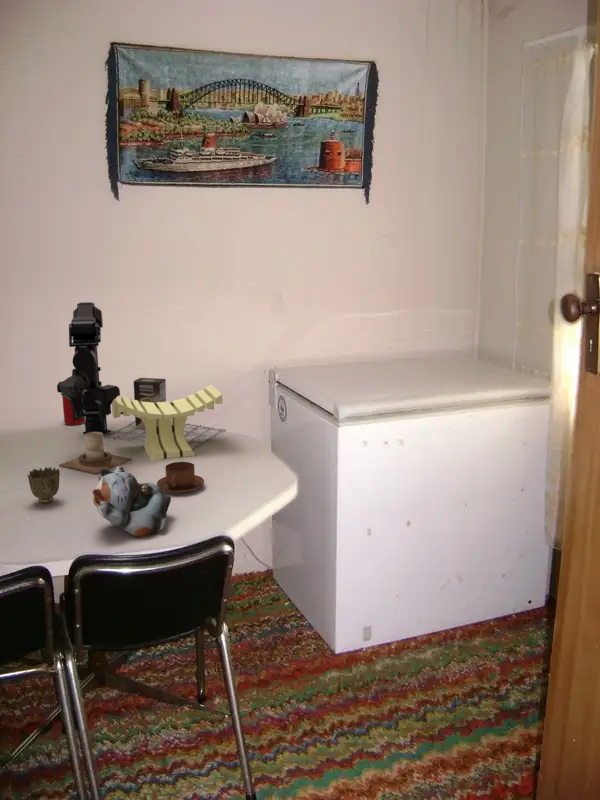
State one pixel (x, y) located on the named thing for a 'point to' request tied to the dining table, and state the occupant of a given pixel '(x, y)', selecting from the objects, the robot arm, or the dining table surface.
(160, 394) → the coffee box
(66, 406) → the beverage can
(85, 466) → the walnut socket
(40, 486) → the cup
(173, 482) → the cup and saucer
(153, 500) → the lucky cat figurine
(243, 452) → the dining table surface
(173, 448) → the slatted curved stool
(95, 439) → the beige rounded peg
